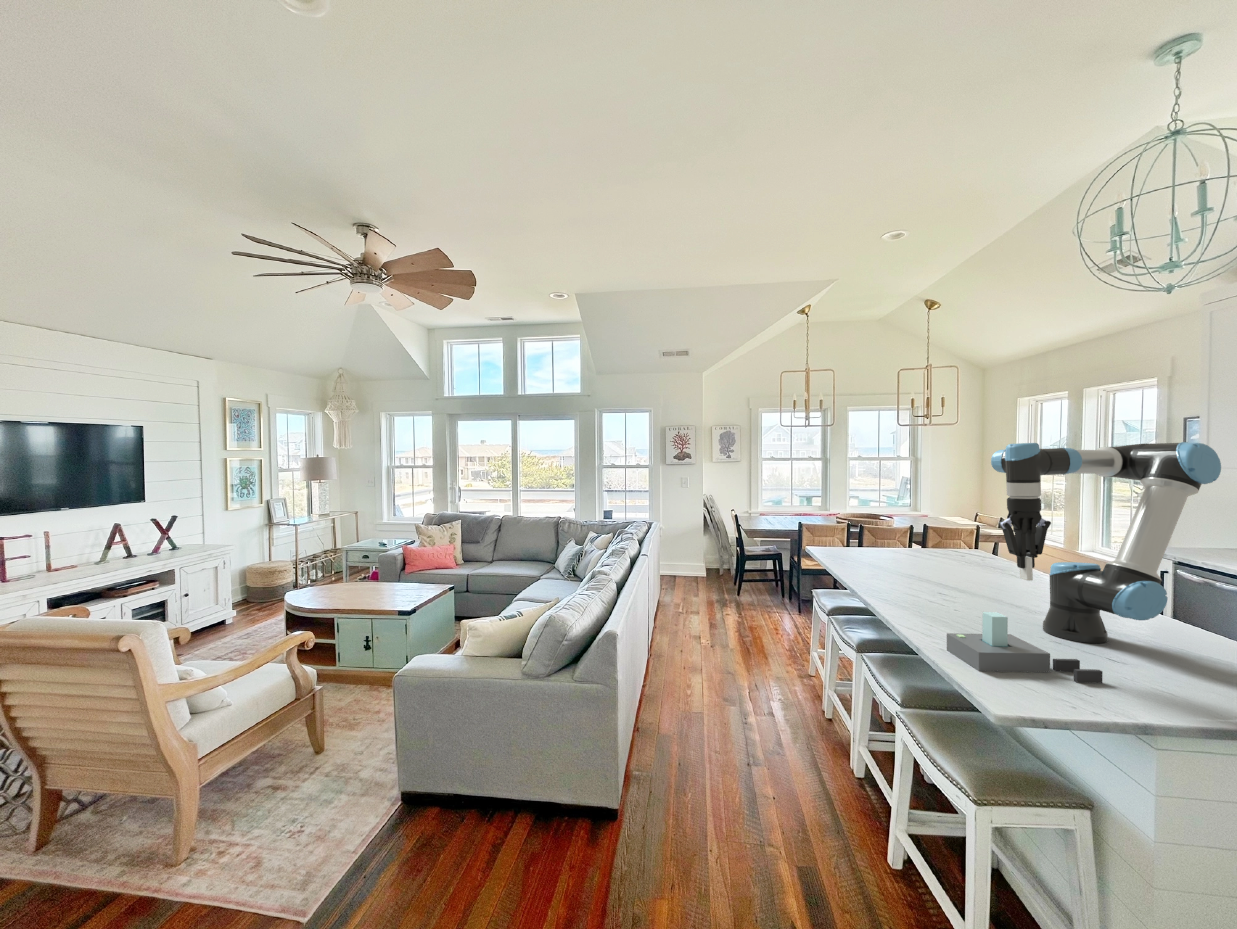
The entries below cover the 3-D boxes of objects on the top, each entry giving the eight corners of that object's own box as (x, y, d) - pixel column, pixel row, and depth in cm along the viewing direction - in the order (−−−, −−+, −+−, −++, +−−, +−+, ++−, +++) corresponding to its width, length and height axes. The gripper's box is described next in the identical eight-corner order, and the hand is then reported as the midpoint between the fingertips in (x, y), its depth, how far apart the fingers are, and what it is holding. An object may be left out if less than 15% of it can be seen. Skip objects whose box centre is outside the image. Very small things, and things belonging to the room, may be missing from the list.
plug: (997, 654, 137) (997, 612, 137) (1007, 660, 133) (1007, 617, 133) (982, 654, 138) (982, 612, 137) (991, 660, 133) (992, 616, 133)
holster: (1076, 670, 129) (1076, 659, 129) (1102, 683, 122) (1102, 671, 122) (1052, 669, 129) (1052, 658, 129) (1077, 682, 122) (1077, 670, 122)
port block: (1010, 651, 142) (1010, 633, 142) (1050, 672, 128) (1050, 652, 128) (946, 650, 143) (946, 632, 143) (978, 671, 129) (978, 651, 129)
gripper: (1036, 495, 141) (1039, 575, 142) (990, 497, 142) (993, 576, 143) (1058, 497, 134) (1061, 582, 134) (1009, 499, 135) (1012, 583, 135)
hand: (1026, 579), depth 139 cm, fingers closed
